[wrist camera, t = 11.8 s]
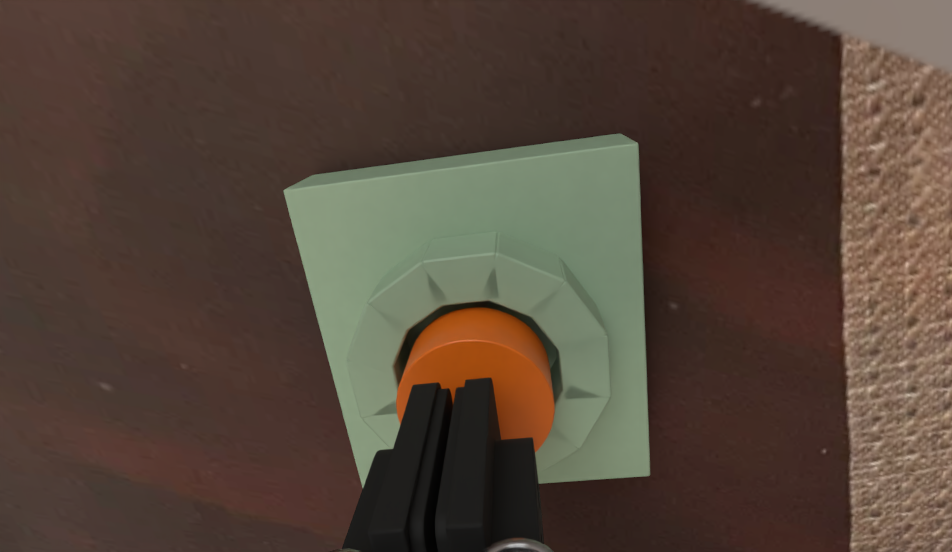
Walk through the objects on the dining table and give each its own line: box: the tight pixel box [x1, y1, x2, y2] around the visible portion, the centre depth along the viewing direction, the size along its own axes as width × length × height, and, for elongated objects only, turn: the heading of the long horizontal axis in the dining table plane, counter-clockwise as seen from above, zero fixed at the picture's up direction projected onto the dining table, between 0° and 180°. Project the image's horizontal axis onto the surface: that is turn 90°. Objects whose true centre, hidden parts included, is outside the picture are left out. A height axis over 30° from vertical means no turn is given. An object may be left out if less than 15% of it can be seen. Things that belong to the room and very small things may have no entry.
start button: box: [396, 307, 555, 452], centre depth 13 cm, size 4×4×2 cm
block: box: [284, 133, 650, 487], centre depth 15 cm, size 10×9×4 cm
